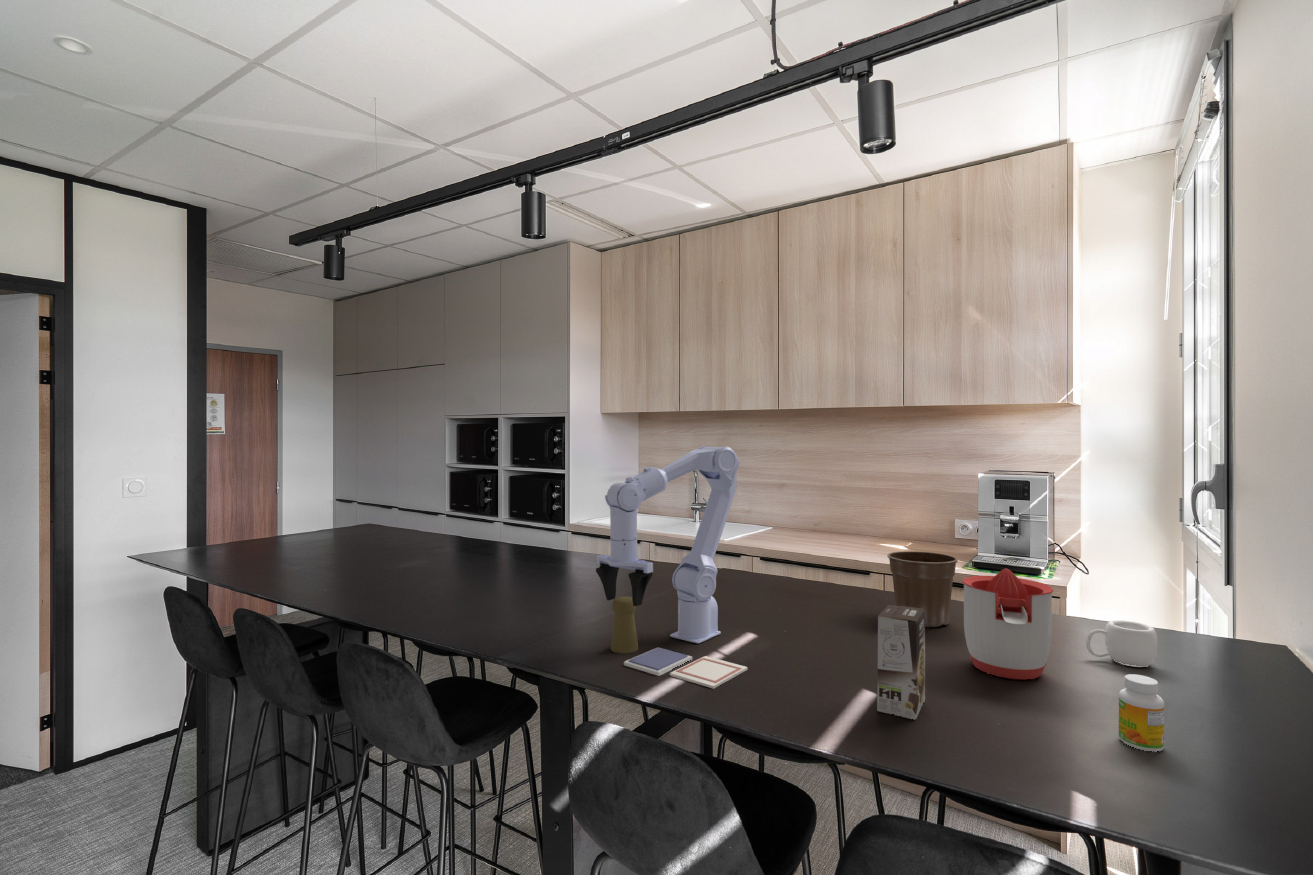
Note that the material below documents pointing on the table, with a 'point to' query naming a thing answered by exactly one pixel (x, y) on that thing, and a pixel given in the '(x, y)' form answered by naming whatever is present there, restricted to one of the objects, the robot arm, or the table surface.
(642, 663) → the ink pad
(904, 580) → the plant pot
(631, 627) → the cork
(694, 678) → the marked board
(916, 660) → the coffee box
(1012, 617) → the citrus juicer
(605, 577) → the robot arm
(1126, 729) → the supplement bottle
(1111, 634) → the mug
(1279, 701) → the table surface
